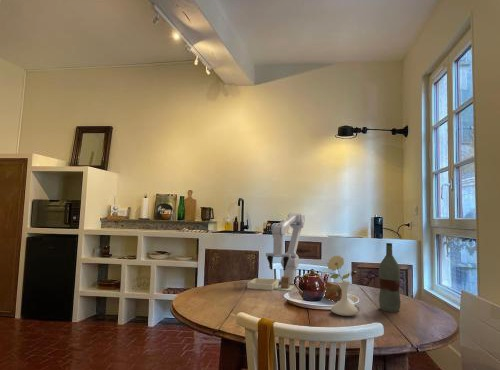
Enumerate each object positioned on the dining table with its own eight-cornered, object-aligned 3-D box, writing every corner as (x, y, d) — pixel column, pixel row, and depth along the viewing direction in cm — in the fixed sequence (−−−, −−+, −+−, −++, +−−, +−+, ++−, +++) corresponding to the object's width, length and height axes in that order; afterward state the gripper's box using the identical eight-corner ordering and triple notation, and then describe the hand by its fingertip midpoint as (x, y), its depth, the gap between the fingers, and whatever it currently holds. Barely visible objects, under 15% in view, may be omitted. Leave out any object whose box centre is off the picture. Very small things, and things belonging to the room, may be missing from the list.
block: (282, 286, 211) (282, 276, 211) (289, 287, 209) (289, 276, 210) (281, 288, 207) (281, 277, 207) (288, 288, 206) (288, 277, 206)
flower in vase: (355, 311, 162) (355, 254, 164) (360, 318, 151) (360, 257, 153) (325, 310, 163) (325, 253, 165) (328, 317, 152) (328, 256, 154)
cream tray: (255, 283, 222) (255, 278, 222) (278, 285, 217) (278, 279, 217) (247, 288, 207) (247, 282, 207) (272, 290, 202) (272, 284, 203)
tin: (319, 296, 189) (319, 280, 190) (324, 296, 190) (324, 280, 191) (338, 303, 175) (338, 285, 176) (343, 303, 177) (343, 285, 177)
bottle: (387, 312, 161) (386, 244, 163) (374, 307, 169) (374, 242, 172) (405, 311, 163) (404, 244, 165) (392, 306, 172) (391, 242, 174)
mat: (280, 285, 215) (280, 285, 215) (294, 286, 213) (294, 286, 213) (276, 289, 204) (276, 289, 204) (290, 291, 201) (290, 290, 201)
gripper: (264, 246, 212) (264, 269, 211) (289, 247, 207) (288, 271, 206) (267, 245, 218) (267, 268, 217) (291, 246, 214) (291, 269, 213)
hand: (277, 269), depth 212 cm, fingers open, 7 cm apart
